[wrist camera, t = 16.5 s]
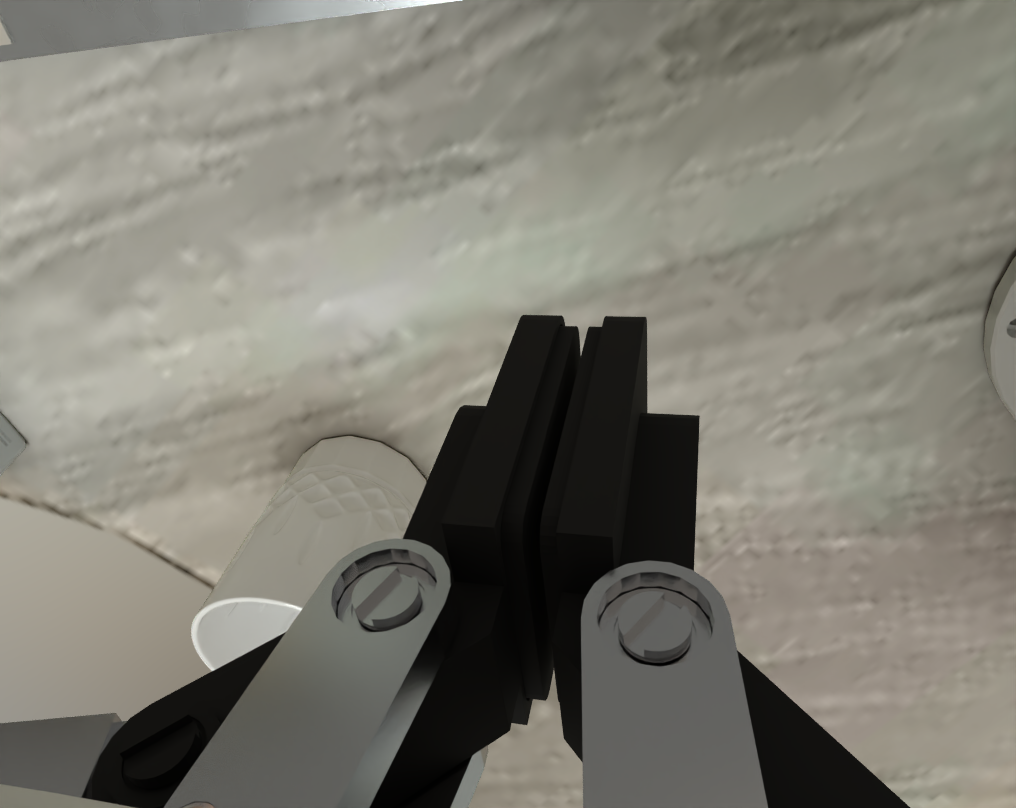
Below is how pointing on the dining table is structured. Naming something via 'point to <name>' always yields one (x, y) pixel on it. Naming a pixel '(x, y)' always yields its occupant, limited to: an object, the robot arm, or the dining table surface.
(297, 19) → the plate
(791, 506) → the dining table surface
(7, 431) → the tea box
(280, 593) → the white cup
